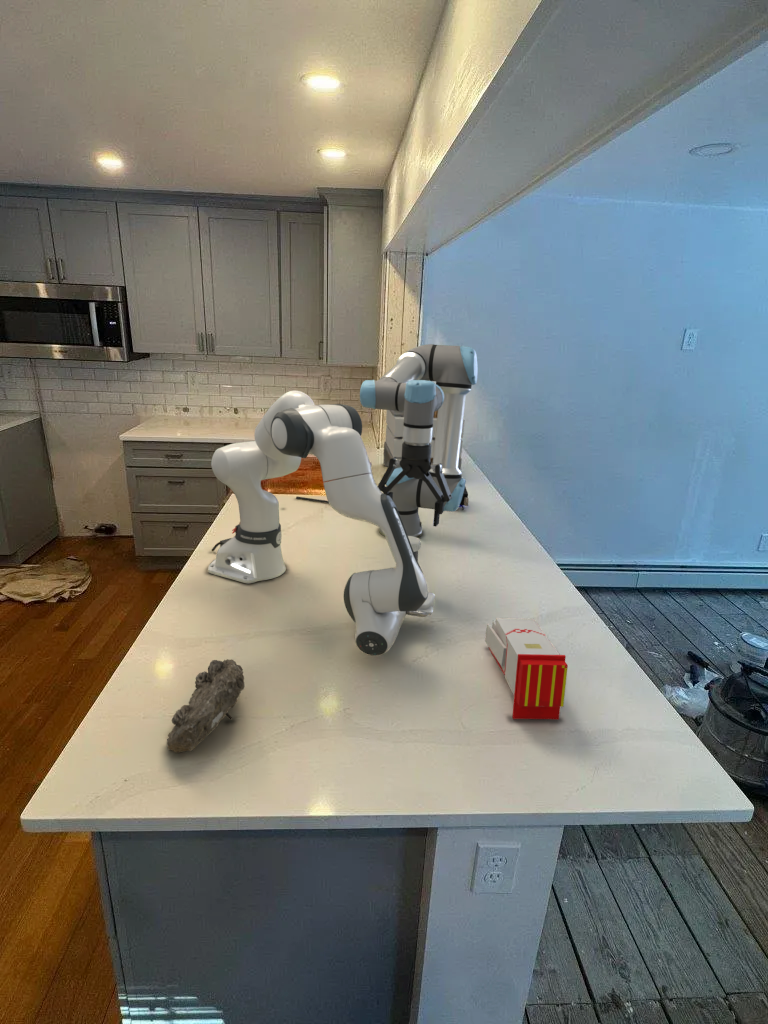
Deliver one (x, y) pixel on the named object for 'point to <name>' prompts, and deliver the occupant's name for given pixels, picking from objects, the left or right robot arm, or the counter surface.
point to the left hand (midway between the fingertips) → (400, 584)
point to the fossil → (206, 705)
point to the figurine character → (464, 499)
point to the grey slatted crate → (396, 435)
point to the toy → (529, 667)
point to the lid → (414, 543)
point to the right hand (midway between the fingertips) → (412, 520)
